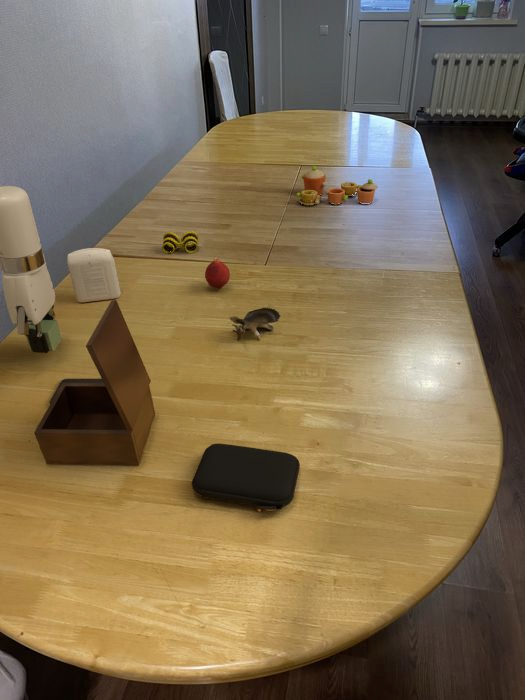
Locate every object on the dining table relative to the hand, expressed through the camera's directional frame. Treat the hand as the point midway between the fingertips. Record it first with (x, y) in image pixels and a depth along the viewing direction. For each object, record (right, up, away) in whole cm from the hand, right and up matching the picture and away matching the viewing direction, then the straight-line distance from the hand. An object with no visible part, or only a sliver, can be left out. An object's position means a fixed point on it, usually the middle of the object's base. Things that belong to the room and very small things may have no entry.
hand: (46, 343), depth 102 cm
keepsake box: (+17, -16, -18) cm, 29 cm away
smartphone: (+13, -9, -9) cm, 18 cm away
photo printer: (+4, +11, +21) cm, 24 cm away
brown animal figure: (+41, +2, +5) cm, 42 cm away
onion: (+32, +13, +22) cm, 41 cm away
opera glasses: (+20, +26, +41) cm, 53 cm away
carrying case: (+40, -21, -26) cm, 53 cm away
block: (0, 0, 0) cm, 0 cm away
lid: (+22, -4, -27) cm, 35 cm away
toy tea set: (+67, +49, +70) cm, 108 cm away
